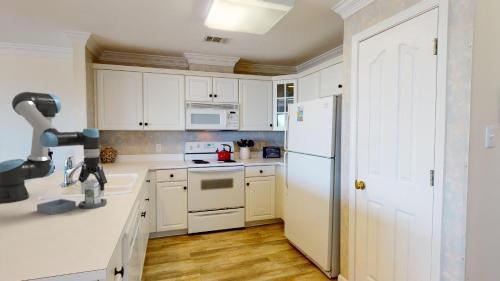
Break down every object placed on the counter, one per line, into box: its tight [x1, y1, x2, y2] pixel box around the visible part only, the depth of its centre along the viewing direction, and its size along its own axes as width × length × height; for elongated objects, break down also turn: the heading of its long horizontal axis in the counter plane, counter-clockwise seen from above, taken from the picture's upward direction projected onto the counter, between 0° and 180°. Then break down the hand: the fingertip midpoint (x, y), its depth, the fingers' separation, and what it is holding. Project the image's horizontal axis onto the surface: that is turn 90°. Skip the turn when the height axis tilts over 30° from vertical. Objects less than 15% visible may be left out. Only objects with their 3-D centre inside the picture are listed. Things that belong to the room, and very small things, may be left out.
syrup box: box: [84, 178, 102, 205], centre depth 148 cm, size 6×6×14 cm
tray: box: [36, 198, 77, 216], centre depth 141 cm, size 12×12×4 cm
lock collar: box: [78, 198, 108, 210], centre depth 149 cm, size 13×13×2 cm
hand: (92, 195), depth 148 cm, fingers open, 13 cm apart
